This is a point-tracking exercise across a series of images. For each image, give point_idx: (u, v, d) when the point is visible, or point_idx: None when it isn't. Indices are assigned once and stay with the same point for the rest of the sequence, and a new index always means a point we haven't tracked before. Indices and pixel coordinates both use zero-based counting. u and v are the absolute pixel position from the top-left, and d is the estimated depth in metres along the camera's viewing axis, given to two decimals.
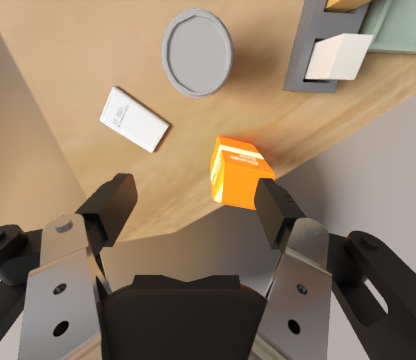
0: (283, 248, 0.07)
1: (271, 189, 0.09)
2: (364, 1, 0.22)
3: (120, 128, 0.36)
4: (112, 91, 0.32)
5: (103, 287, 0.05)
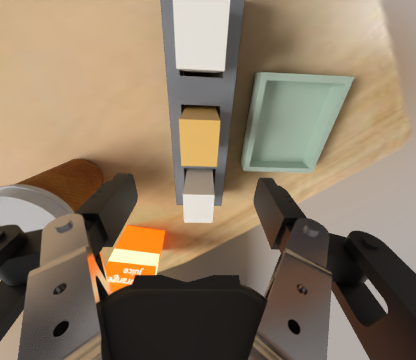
0: (283, 248, 0.07)
1: (271, 189, 0.09)
2: None
3: None
4: None
5: (103, 287, 0.05)
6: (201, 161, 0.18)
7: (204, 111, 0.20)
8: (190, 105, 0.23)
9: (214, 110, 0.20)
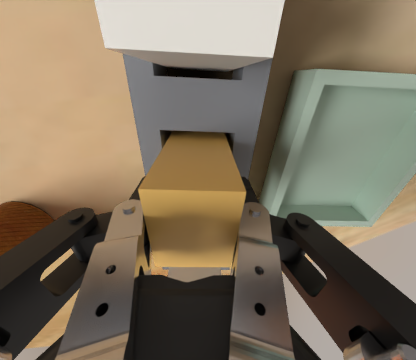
0: None
1: None
2: None
3: None
4: None
5: None
6: (198, 260, 0.08)
7: (205, 146, 0.10)
8: None
9: (223, 142, 0.11)
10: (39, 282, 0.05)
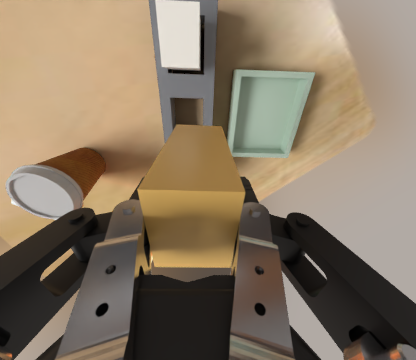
0: None
1: None
2: None
3: None
4: None
5: None
6: (197, 260, 0.08)
7: (204, 146, 0.10)
8: (180, 127, 0.14)
9: (223, 142, 0.11)
10: (39, 282, 0.05)
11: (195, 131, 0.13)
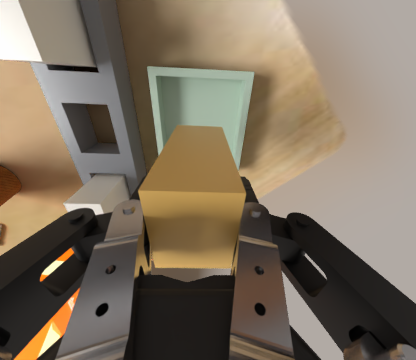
0: None
1: None
2: None
3: None
4: None
5: None
6: (198, 261, 0.08)
7: (205, 147, 0.10)
8: (181, 128, 0.14)
9: (223, 142, 0.11)
10: (39, 282, 0.05)
11: (195, 132, 0.13)
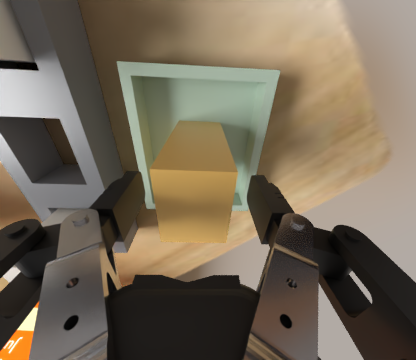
0: (272, 243, 0.08)
1: (262, 186, 0.09)
2: None
3: None
4: None
5: (113, 283, 0.05)
6: (198, 235, 0.10)
7: (204, 139, 0.11)
8: (182, 123, 0.15)
9: (221, 135, 0.12)
10: None
11: (196, 126, 0.14)
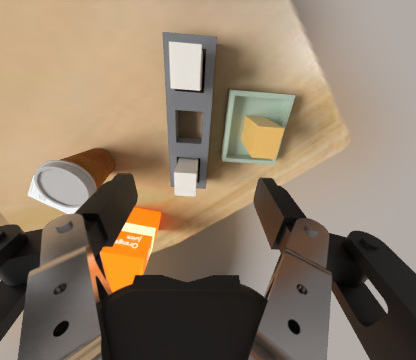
0: (283, 248, 0.07)
1: (271, 189, 0.09)
2: None
3: (46, 201, 0.43)
4: None
5: (103, 287, 0.05)
6: (265, 154, 0.27)
7: (265, 121, 0.28)
8: (248, 116, 0.32)
9: (270, 121, 0.29)
10: None
11: (256, 117, 0.31)
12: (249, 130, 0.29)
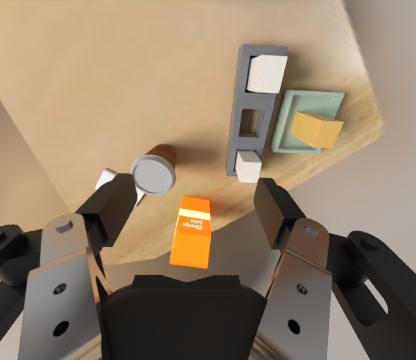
0: (283, 248, 0.07)
1: (271, 189, 0.09)
2: None
3: None
4: (103, 172, 0.45)
5: (103, 287, 0.05)
6: (324, 144, 0.32)
7: (320, 116, 0.33)
8: (300, 112, 0.37)
9: None
10: None
11: (308, 113, 0.36)
12: (306, 124, 0.34)
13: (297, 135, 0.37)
